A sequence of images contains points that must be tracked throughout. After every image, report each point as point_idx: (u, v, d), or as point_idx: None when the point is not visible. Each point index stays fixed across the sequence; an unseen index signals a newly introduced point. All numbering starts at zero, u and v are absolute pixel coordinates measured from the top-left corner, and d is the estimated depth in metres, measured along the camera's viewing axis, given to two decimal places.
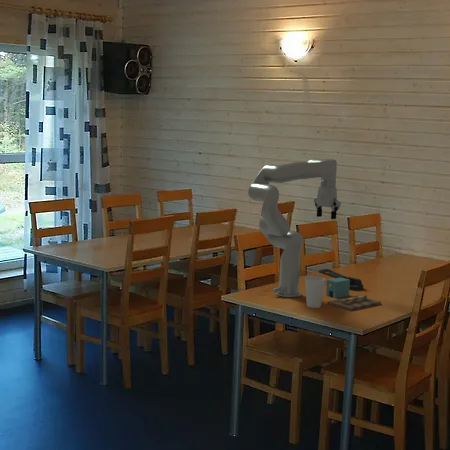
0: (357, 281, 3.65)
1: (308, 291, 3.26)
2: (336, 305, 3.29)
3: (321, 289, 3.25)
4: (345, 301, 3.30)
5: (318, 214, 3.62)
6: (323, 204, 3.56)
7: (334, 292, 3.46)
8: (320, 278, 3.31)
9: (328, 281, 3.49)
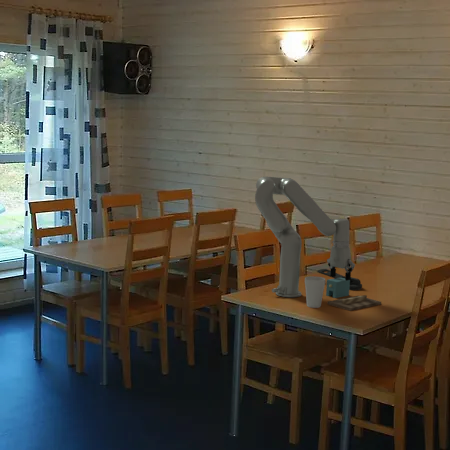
0: (356, 281, 3.65)
1: (308, 291, 3.26)
2: (336, 305, 3.29)
3: (321, 289, 3.25)
4: (345, 301, 3.30)
5: (332, 274, 3.53)
6: (337, 265, 3.47)
7: (334, 292, 3.46)
8: (320, 278, 3.31)
9: (328, 281, 3.49)
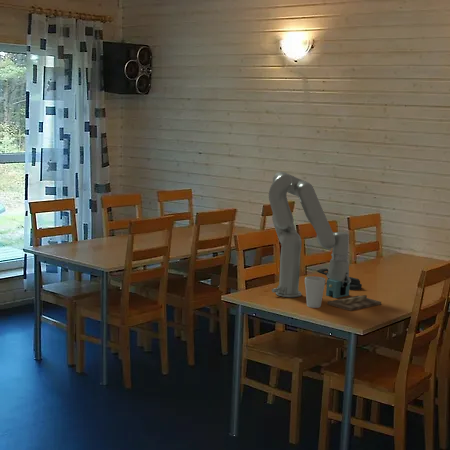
0: (355, 281, 3.65)
1: (308, 291, 3.26)
2: (336, 305, 3.29)
3: (321, 289, 3.25)
4: (345, 301, 3.30)
5: None
6: (335, 278, 3.48)
7: (334, 292, 3.46)
8: (320, 278, 3.31)
9: (328, 281, 3.49)
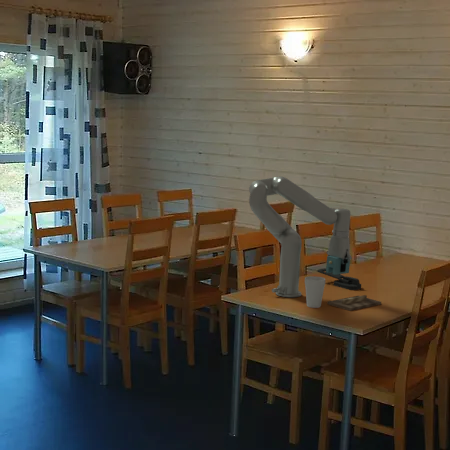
0: (355, 280, 3.66)
1: (308, 291, 3.26)
2: (336, 305, 3.29)
3: (321, 289, 3.25)
4: (345, 301, 3.30)
5: None
6: (335, 255, 3.47)
7: (334, 268, 3.44)
8: (320, 278, 3.31)
9: (328, 257, 3.47)
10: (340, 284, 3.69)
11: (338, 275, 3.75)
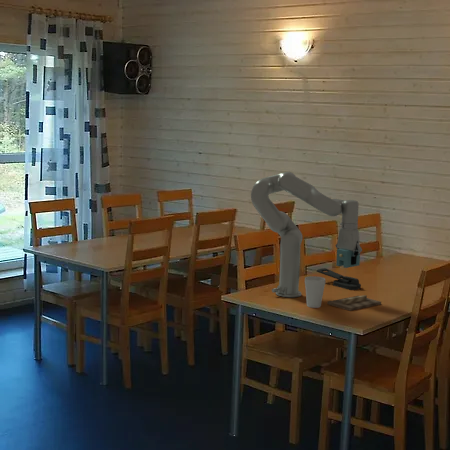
0: (354, 280, 3.66)
1: (308, 291, 3.26)
2: (336, 305, 3.29)
3: (321, 289, 3.25)
4: (345, 301, 3.30)
5: None
6: (345, 247, 3.38)
7: (345, 261, 3.36)
8: (320, 278, 3.31)
9: (338, 251, 3.39)
10: (340, 284, 3.69)
11: (337, 275, 3.75)
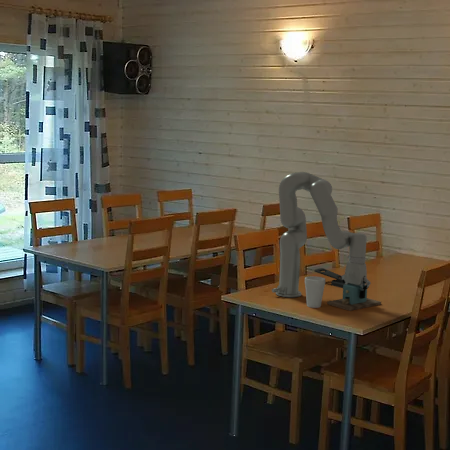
0: None
1: (308, 291, 3.26)
2: (336, 305, 3.29)
3: (321, 289, 3.25)
4: (345, 301, 3.30)
5: None
6: (352, 282, 3.32)
7: (351, 298, 3.30)
8: (320, 278, 3.31)
9: (344, 286, 3.33)
10: (338, 284, 3.69)
11: (335, 275, 3.75)
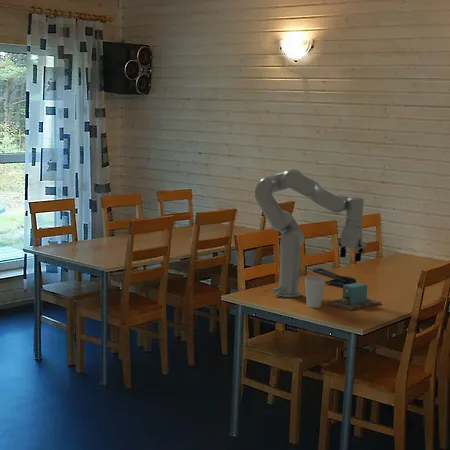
0: (352, 280, 3.67)
1: (308, 291, 3.26)
2: (336, 305, 3.29)
3: (321, 289, 3.25)
4: (345, 301, 3.30)
5: (341, 255, 3.41)
6: (347, 245, 3.35)
7: (351, 298, 3.30)
8: (320, 278, 3.31)
9: (344, 286, 3.33)
10: (337, 284, 3.70)
11: (334, 275, 3.75)
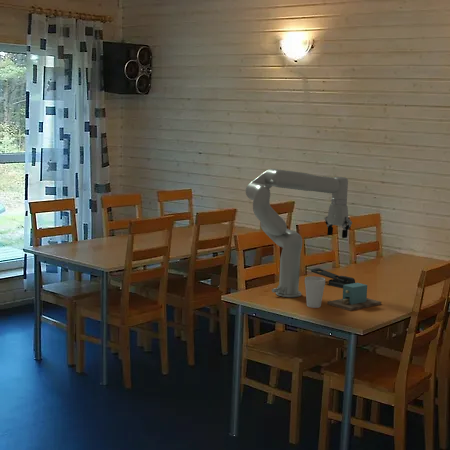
0: (351, 280, 3.67)
1: (308, 291, 3.26)
2: (336, 305, 3.29)
3: (321, 289, 3.25)
4: (345, 301, 3.30)
5: (329, 232, 3.57)
6: (334, 223, 3.52)
7: (351, 298, 3.30)
8: (320, 278, 3.31)
9: (344, 286, 3.33)
10: (336, 284, 3.70)
11: (332, 275, 3.75)
